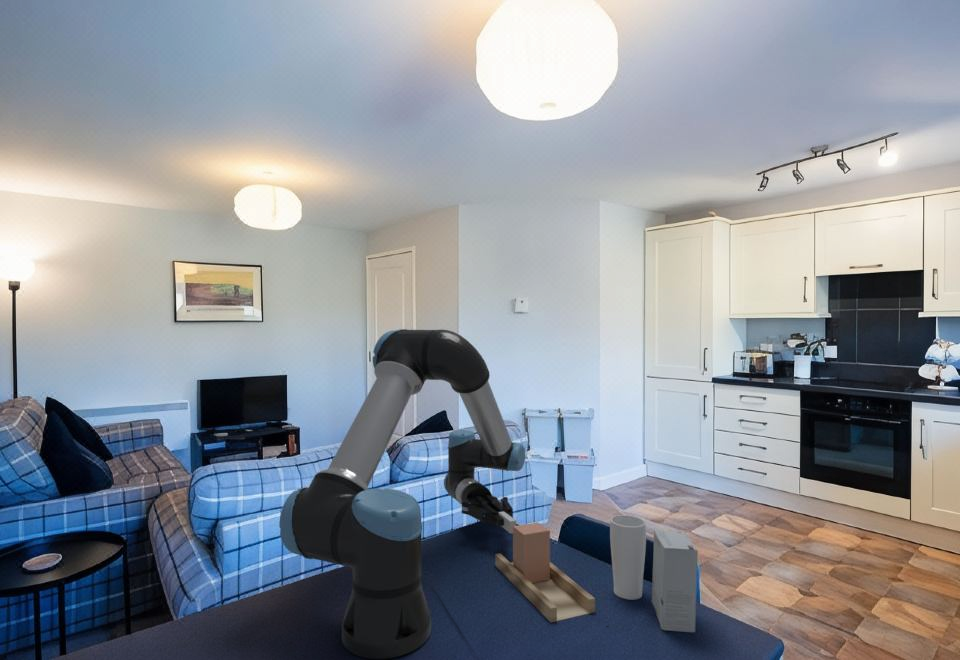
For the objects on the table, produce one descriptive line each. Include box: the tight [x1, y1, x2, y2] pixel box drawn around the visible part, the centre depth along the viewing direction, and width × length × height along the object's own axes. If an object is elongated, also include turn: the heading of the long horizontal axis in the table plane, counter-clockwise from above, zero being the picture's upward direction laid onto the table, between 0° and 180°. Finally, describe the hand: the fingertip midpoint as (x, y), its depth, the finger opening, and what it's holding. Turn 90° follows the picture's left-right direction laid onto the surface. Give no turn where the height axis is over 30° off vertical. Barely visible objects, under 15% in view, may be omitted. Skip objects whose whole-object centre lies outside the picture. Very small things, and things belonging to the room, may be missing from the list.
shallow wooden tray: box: [494, 553, 596, 623], centre depth 103 cm, size 24×9×3 cm, turn 22°
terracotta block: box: [512, 521, 551, 583], centre depth 106 cm, size 5×6×10 cm
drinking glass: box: [609, 514, 647, 600], centre depth 100 cm, size 7×7×15 cm
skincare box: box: [651, 529, 699, 633], centre depth 92 cm, size 8×6×15 cm
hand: (513, 527), depth 115 cm, fingers closed
